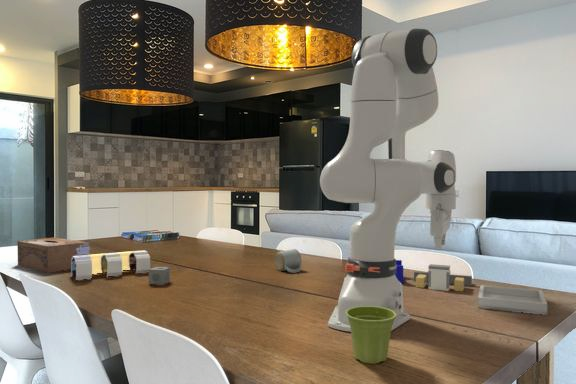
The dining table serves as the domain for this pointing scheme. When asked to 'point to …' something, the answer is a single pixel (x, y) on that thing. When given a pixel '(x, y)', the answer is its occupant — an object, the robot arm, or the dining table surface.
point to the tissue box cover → (47, 253)
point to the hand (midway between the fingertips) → (440, 247)
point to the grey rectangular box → (439, 277)
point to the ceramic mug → (288, 261)
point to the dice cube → (159, 275)
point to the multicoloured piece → (108, 263)
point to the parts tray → (512, 299)
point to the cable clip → (399, 271)
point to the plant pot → (370, 332)
